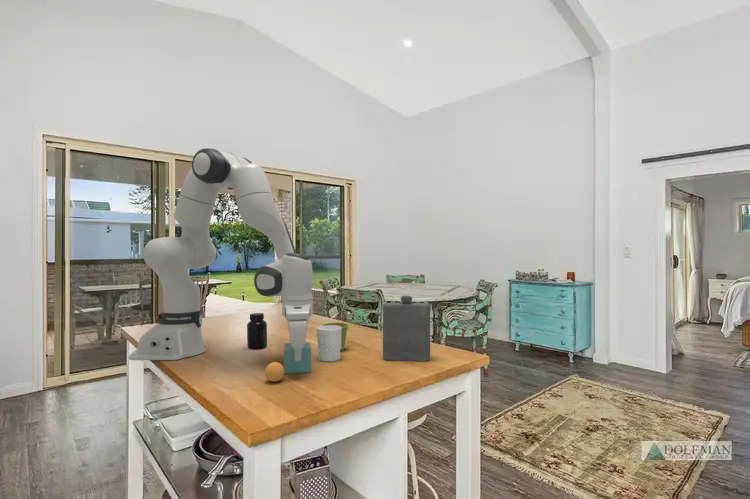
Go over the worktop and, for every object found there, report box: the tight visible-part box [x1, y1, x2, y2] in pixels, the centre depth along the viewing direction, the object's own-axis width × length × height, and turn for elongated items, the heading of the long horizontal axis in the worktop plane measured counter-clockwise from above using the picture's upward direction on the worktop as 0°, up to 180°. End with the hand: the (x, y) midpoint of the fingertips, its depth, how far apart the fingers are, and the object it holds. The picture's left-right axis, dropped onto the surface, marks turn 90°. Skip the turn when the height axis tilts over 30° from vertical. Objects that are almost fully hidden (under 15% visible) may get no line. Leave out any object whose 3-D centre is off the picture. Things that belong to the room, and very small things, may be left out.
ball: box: [264, 361, 285, 383], centre depth 106 cm, size 5×5×5 cm
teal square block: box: [283, 341, 312, 375], centre depth 117 cm, size 8×8×7 cm
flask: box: [382, 295, 431, 362], centre depth 128 cm, size 15×6×20 cm, turn 84°
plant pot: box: [321, 322, 350, 352], centre depth 139 cm, size 9×9×9 cm
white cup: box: [316, 325, 342, 362], centre depth 128 cm, size 8×8×10 cm
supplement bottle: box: [246, 312, 268, 351], centre depth 143 cm, size 7×7×12 cm
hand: (297, 356), depth 117 cm, fingers closed on teal square block, 8 cm apart
